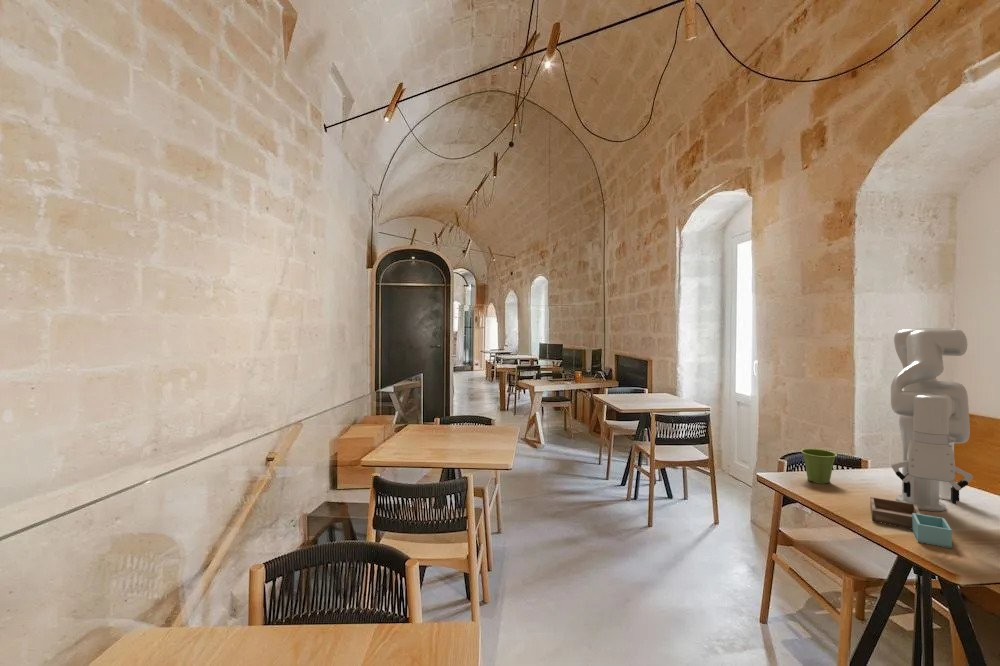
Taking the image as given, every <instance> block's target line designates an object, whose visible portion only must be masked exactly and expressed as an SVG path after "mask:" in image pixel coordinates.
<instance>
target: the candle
mask: <svg viewBox="0 0 1000 666" xmlns="http://www.w3.org/2000/svg"><path fill="white" fill-rule="evenodd" d="M949 445H951V446H952V449H953V453H954V454H955V443H949ZM951 488H952V485H951V484H950V483H949V482H944V481H939V500H944V501H945V500H946V501H951Z"/></svg>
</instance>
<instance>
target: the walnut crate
mask: <svg viewBox="0 0 1000 666" xmlns="http://www.w3.org/2000/svg"><path fill="white" fill-rule="evenodd" d="M869 502H870V506H869V509H870V508H871V509H870V514H871V515H870V516H871V521H876V522H875V523H878V522H882V523H881V524H883V523H886V524H885V525H889V524H891V525H890V526H894V525H896V526H895V527H899V526H901V528H905V527H906V529H910V528H912V513H916V514H921V512H920V509H918V507H917V505H916V504H912V503H906V502H900V501H896V500H892V499H887V498H880V497H874V496H870V500H869Z"/></svg>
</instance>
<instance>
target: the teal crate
mask: <svg viewBox="0 0 1000 666" xmlns="http://www.w3.org/2000/svg"><path fill="white" fill-rule="evenodd" d="M911 530H912V532H914V533H913V535H914V537H915V539H916V541H918V542H917V543H919V542H921V544H924V543H926V545H930V544H932V545H931V546H935V545H937V546H936V547H940V546H941V548H946V549H950V550H951V549H953V546H952V544H953V541H952V540H953V536H952V535H953V530H952V528H951V527H950V525H949V524H948V521H947V520H946V519H945V518H944V517H938V516H934V515H926V514H922V513H920V514H916V513H912V529H911Z"/></svg>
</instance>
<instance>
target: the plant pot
mask: <svg viewBox="0 0 1000 666" xmlns="http://www.w3.org/2000/svg"><path fill="white" fill-rule="evenodd" d="M800 453H802V458H803V459H804V466H805V467H804V468H805V472H806V476H807V480H808V481H809V482H813V483H816V484H821V483H822V484H823V485H824V484H827V483H828V484H829V483H830V482H831V478H832V472H833V467H834V462H835V460H836V457H837V456H838V454H837V453H835V452H834V451H830V450H826V449H821V448H820V449H819V448H803V449H800ZM822 484H821V485H822Z"/></svg>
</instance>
